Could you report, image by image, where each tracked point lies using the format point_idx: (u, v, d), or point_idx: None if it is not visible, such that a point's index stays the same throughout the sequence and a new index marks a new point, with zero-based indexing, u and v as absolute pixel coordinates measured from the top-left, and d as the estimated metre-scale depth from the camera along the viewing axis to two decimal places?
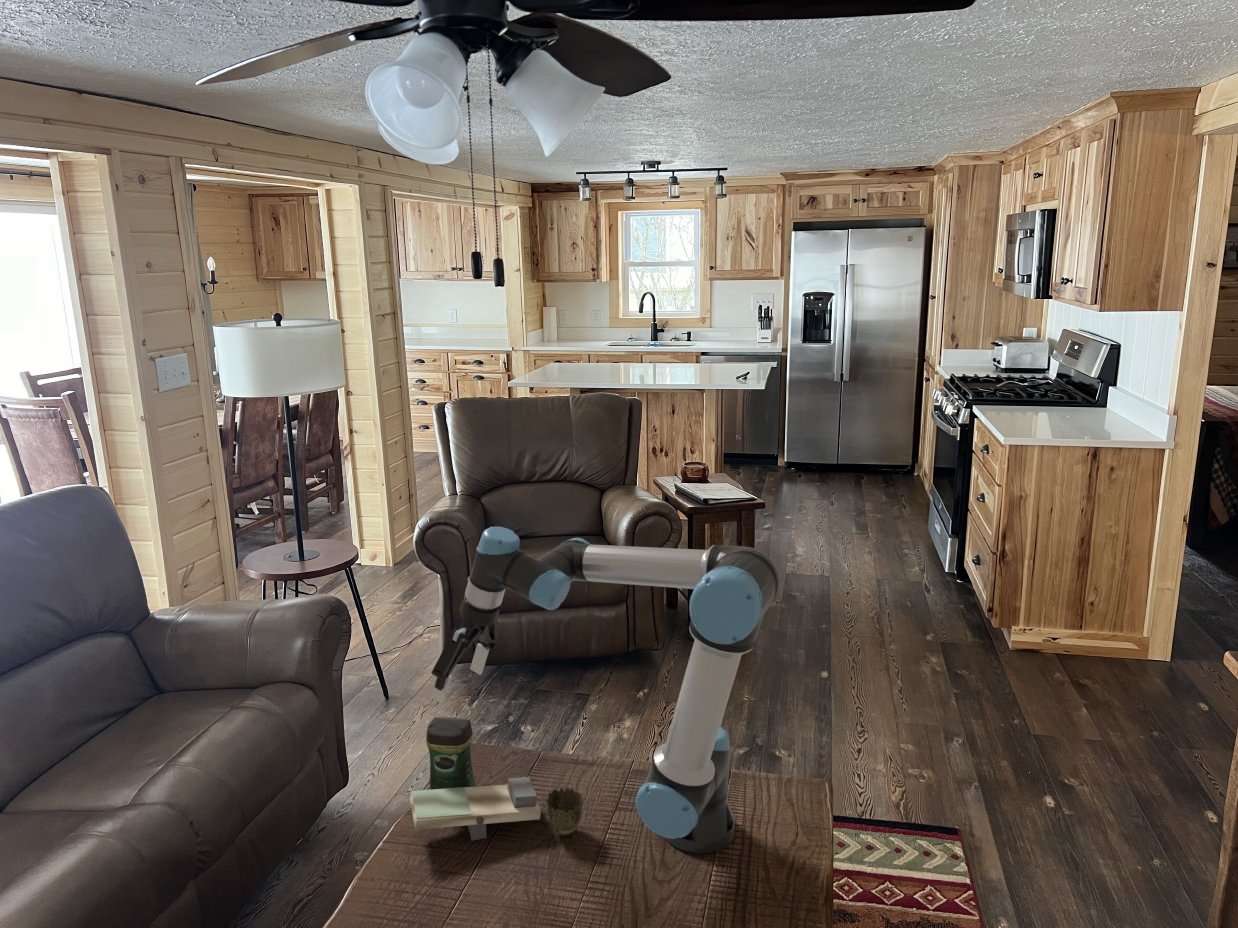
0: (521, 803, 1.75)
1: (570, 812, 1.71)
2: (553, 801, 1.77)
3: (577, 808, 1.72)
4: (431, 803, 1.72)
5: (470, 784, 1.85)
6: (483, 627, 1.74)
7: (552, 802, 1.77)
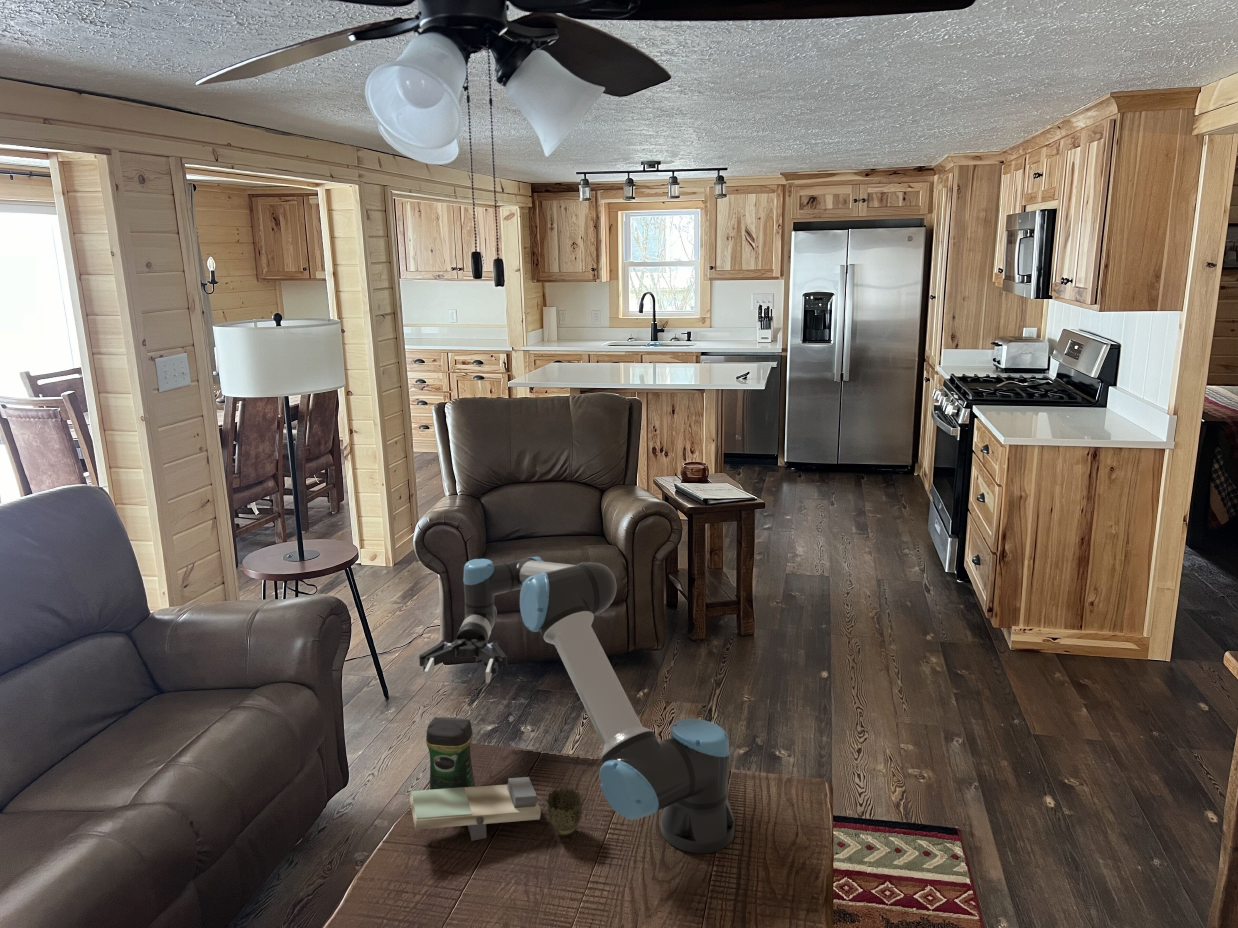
0: (521, 803, 1.75)
1: (570, 812, 1.71)
2: (553, 801, 1.77)
3: (577, 808, 1.72)
4: (431, 803, 1.72)
5: (470, 784, 1.85)
6: None
7: (552, 802, 1.77)
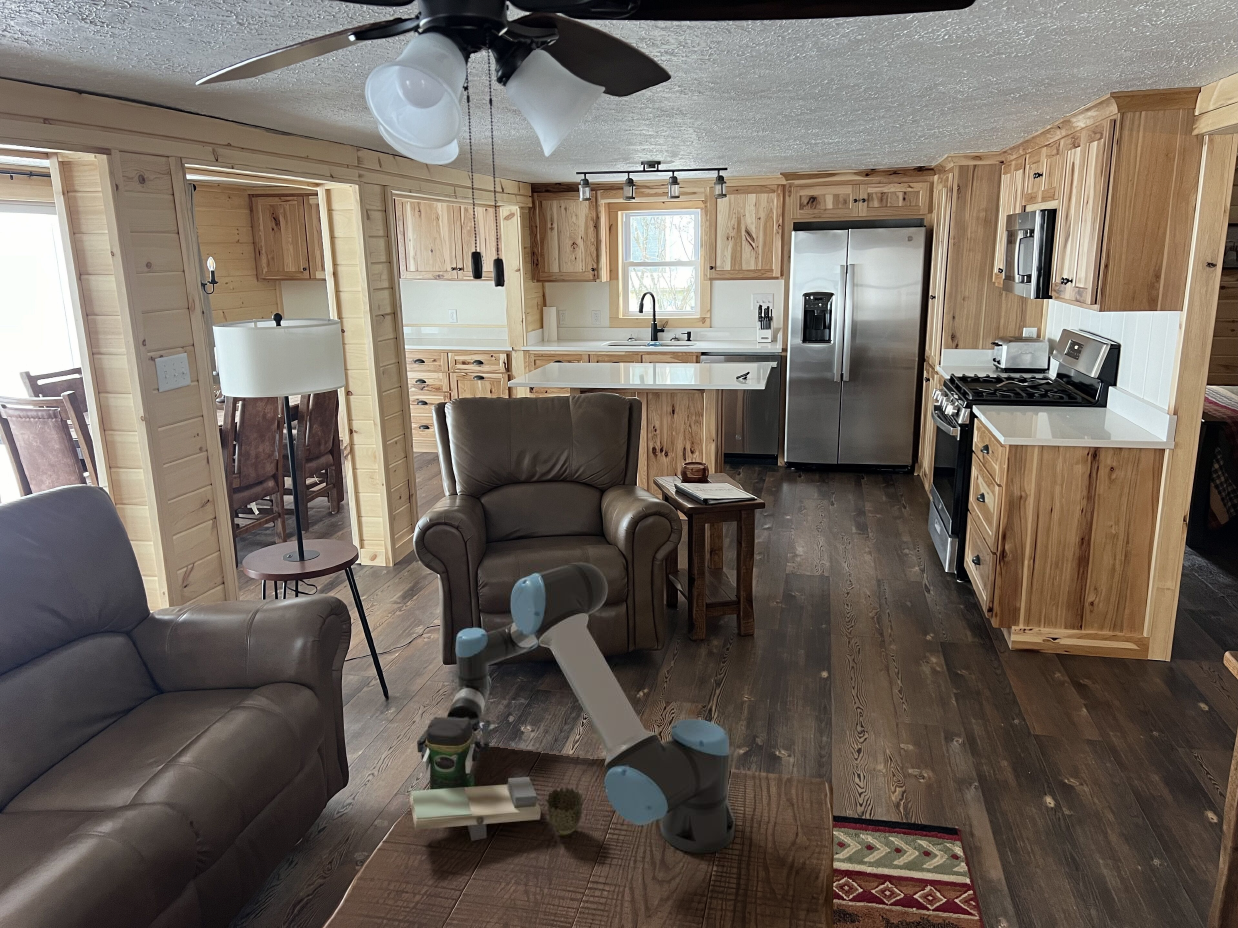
0: (521, 803, 1.75)
1: (570, 812, 1.71)
2: (553, 801, 1.77)
3: (577, 808, 1.72)
4: (431, 803, 1.72)
5: (471, 784, 1.85)
6: None
7: (552, 802, 1.77)
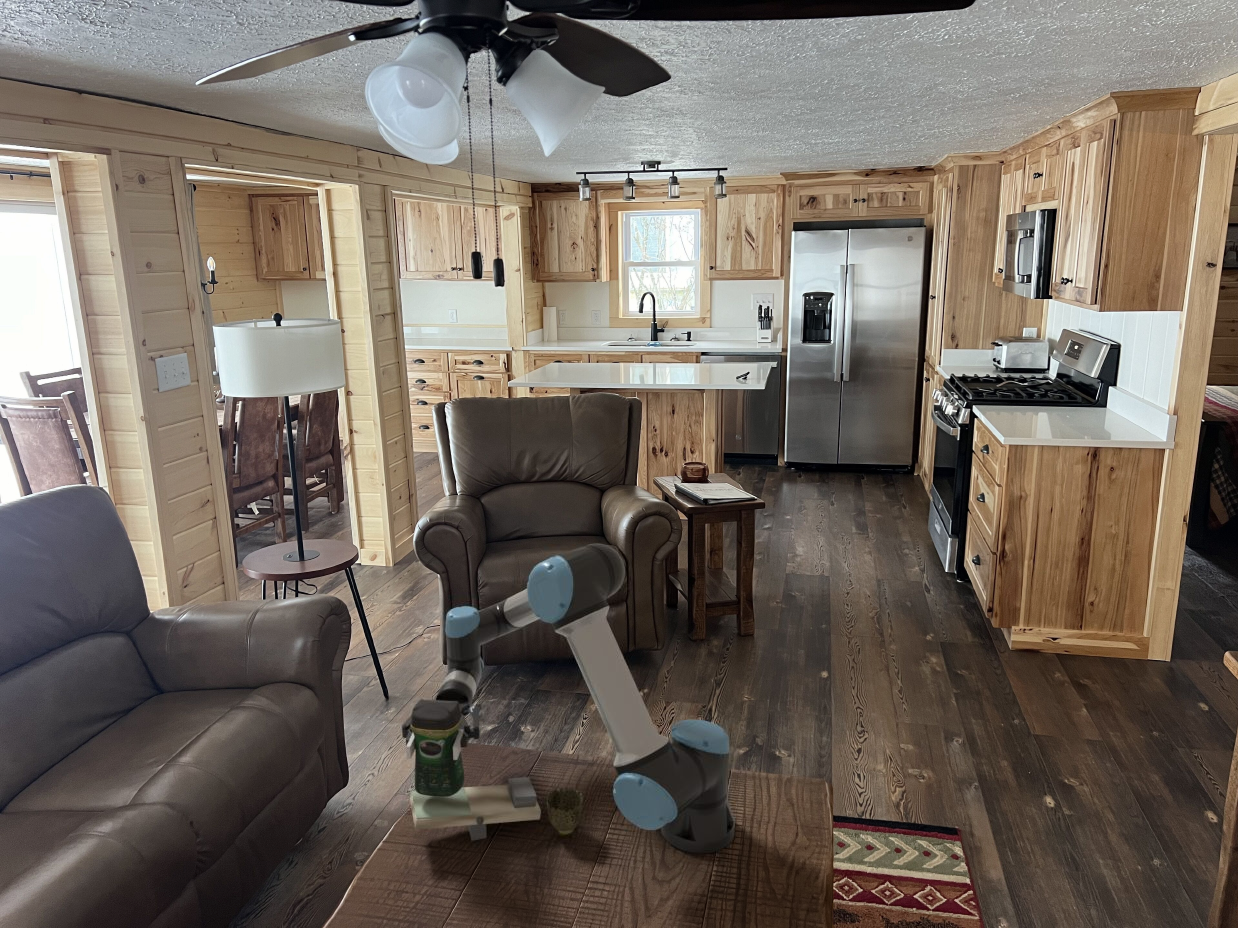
0: (521, 803, 1.75)
1: (570, 812, 1.71)
2: (553, 801, 1.77)
3: (577, 808, 1.72)
4: (431, 803, 1.72)
5: (459, 771, 1.71)
6: None
7: (552, 802, 1.77)
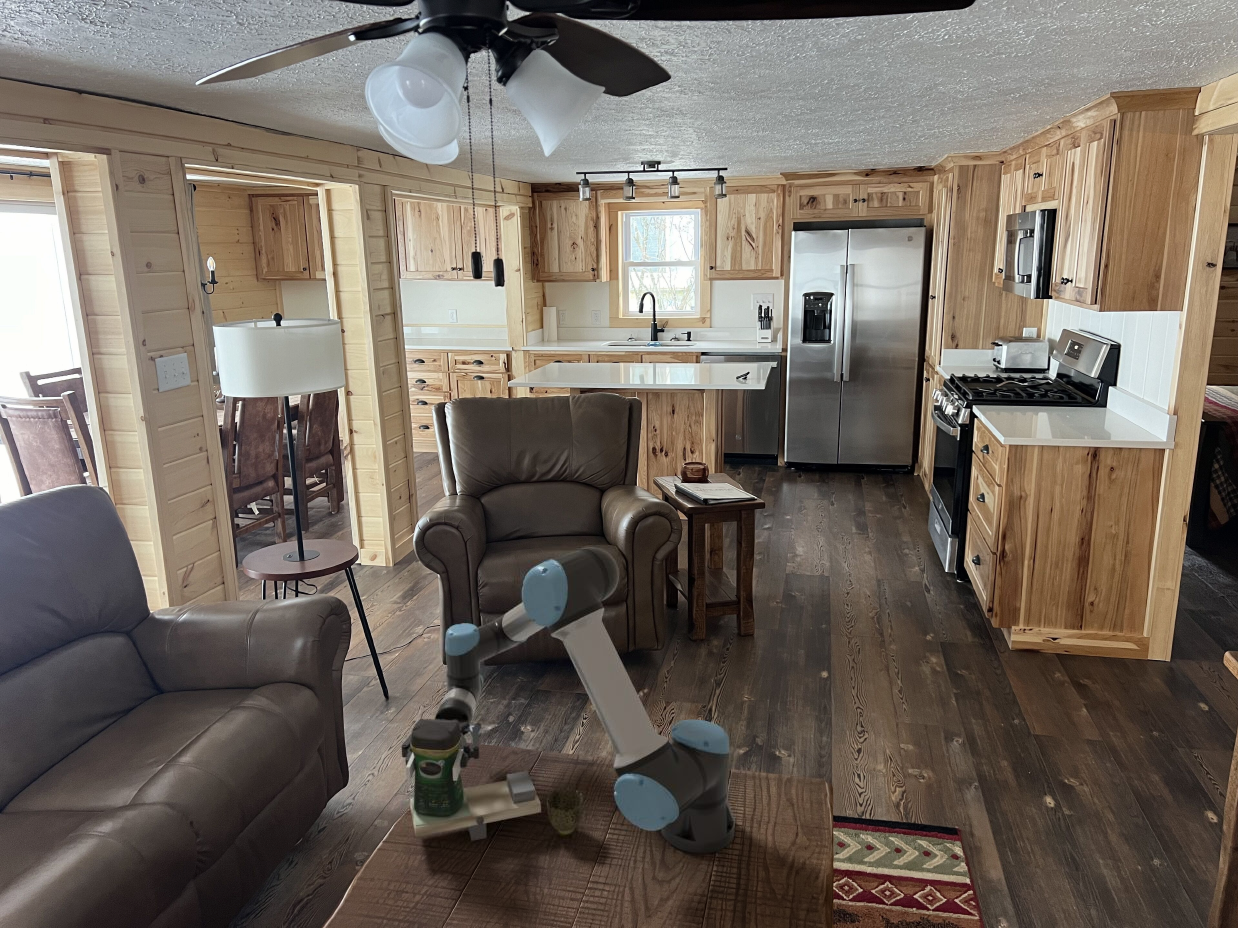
0: (520, 798, 1.75)
1: (570, 812, 1.71)
2: (553, 801, 1.77)
3: (577, 808, 1.72)
4: None
5: (458, 791, 1.71)
6: None
7: (552, 802, 1.77)
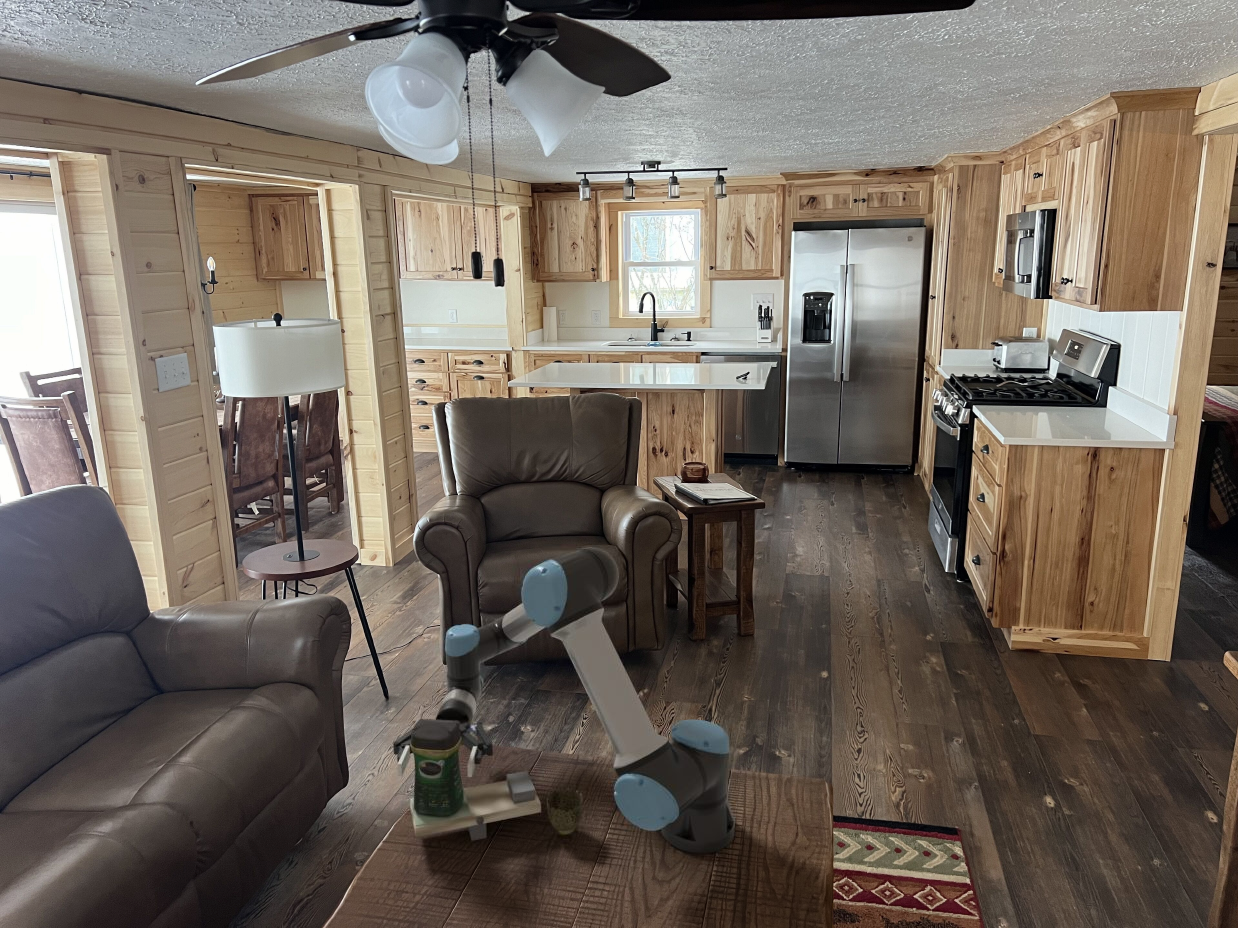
0: (520, 798, 1.75)
1: (570, 812, 1.71)
2: (553, 801, 1.77)
3: (577, 808, 1.72)
4: None
5: (458, 791, 1.71)
6: None
7: (552, 802, 1.77)
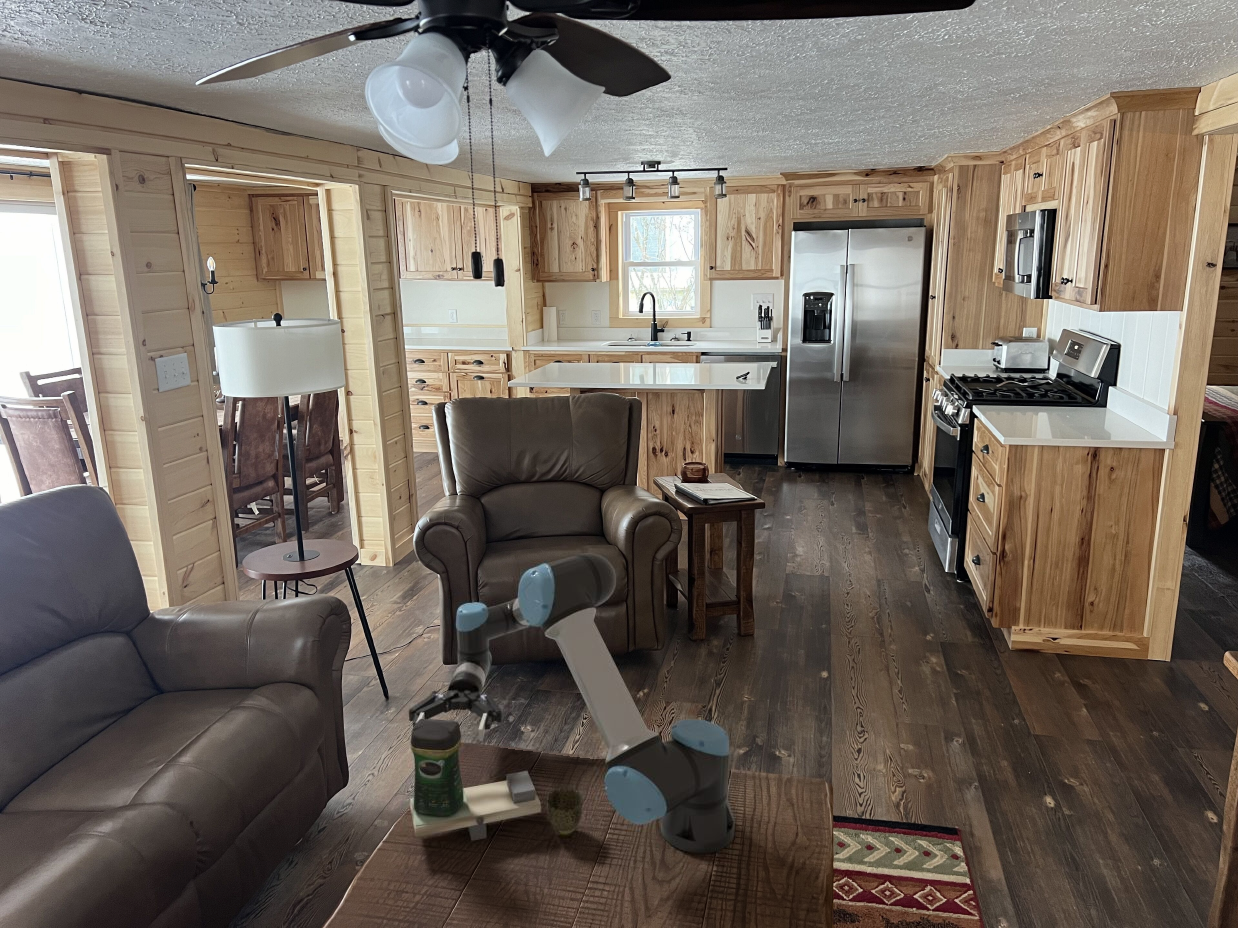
0: (520, 798, 1.75)
1: (570, 812, 1.71)
2: (553, 801, 1.77)
3: (577, 808, 1.72)
4: None
5: (458, 791, 1.71)
6: None
7: (552, 802, 1.77)
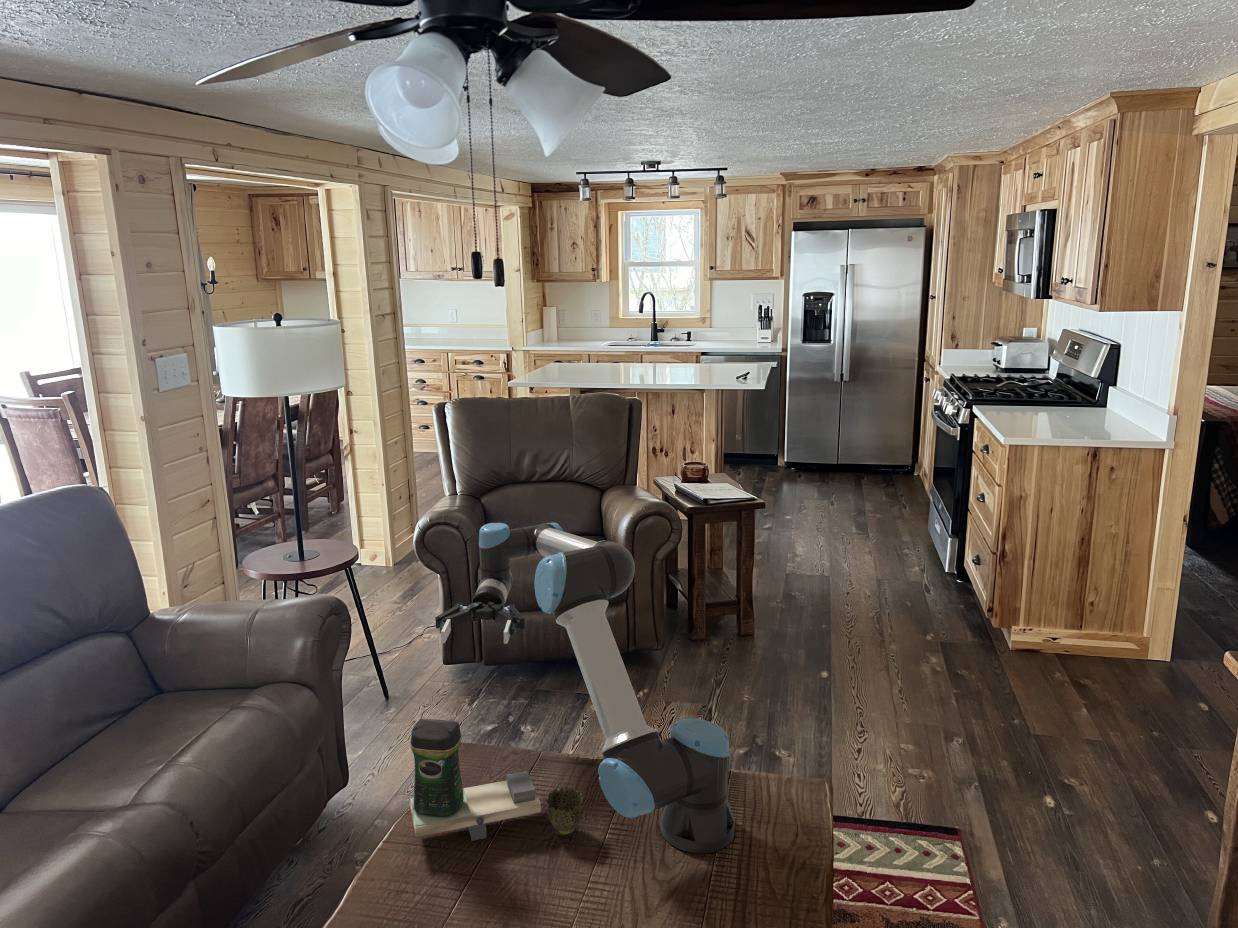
0: (520, 798, 1.75)
1: (570, 812, 1.71)
2: (553, 801, 1.77)
3: (577, 808, 1.72)
4: None
5: (458, 791, 1.71)
6: None
7: (552, 802, 1.77)
